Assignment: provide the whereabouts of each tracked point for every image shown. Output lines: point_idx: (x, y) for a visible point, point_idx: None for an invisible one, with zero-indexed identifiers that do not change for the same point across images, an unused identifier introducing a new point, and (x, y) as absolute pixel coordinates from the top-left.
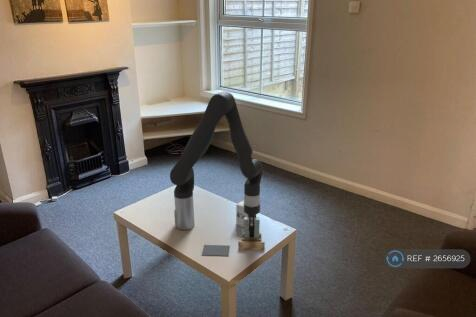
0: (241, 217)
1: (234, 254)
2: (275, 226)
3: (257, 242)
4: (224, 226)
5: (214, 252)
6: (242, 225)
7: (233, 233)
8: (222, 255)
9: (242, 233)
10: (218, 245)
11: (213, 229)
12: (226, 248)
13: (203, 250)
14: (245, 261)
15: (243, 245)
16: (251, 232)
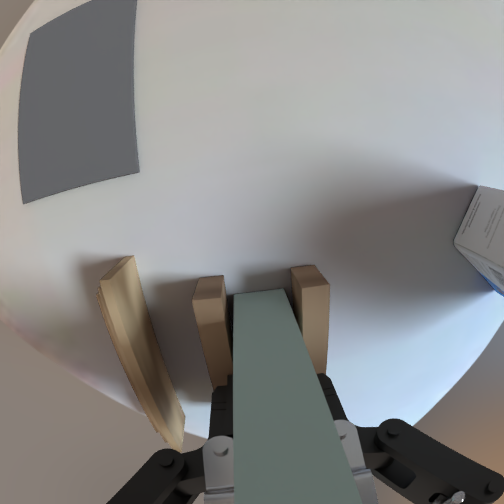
0: None
1: (50, 241)
2: (419, 411)
3: (157, 423)
4: (447, 93)
5: (42, 88)
6: (463, 241)
7: (371, 168)
8: (19, 159)
9: (314, 287)
10: (126, 71)
11: (389, 11)
12: (90, 155)
13: (68, 14)
14: (26, 320)
15: (107, 319)
16: (216, 433)
